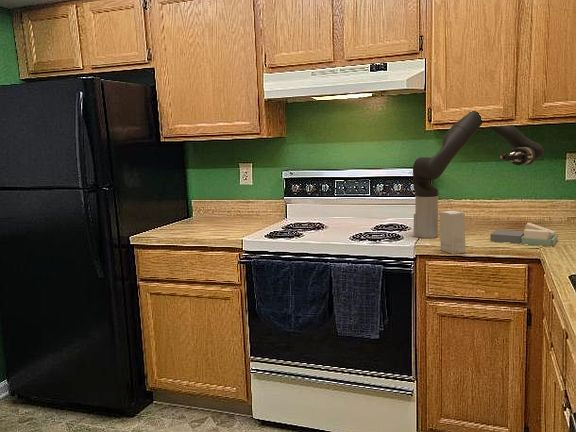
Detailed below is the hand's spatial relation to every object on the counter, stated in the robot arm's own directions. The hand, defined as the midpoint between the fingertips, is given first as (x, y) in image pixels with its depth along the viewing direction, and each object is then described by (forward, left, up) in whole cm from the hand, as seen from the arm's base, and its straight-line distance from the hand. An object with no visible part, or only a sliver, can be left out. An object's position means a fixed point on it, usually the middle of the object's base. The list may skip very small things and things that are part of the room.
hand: (509, 158), depth 210 cm
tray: (+13, -7, -32) cm, 35 cm away
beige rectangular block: (+8, -4, -27) cm, 29 cm away
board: (+2, -7, -32) cm, 33 cm away
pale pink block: (+8, -10, -29) cm, 32 cm away
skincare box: (-12, -36, -32) cm, 50 cm away
